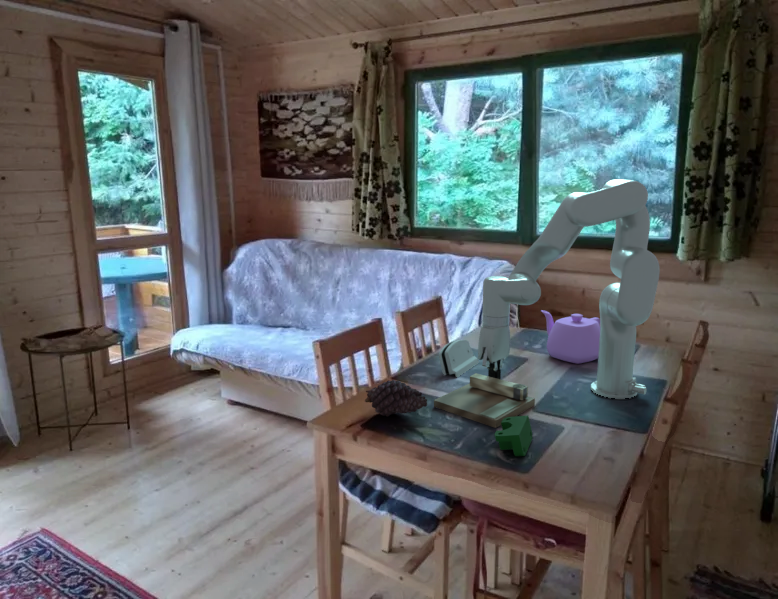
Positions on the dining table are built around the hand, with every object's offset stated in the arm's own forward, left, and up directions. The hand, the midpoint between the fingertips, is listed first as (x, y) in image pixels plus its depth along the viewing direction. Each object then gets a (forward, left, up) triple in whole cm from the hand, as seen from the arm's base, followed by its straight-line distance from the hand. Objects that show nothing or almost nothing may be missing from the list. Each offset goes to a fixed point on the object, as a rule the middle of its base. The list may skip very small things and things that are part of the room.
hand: (494, 382), depth 169 cm
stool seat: (-3, +9, -3) cm, 11 cm away
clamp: (-22, +24, -4) cm, 33 cm away
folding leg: (-4, +3, -1) cm, 5 cm away
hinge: (+21, -10, -4) cm, 23 cm away
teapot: (-2, -45, -4) cm, 45 cm away
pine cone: (+11, +30, -4) cm, 33 cm away
